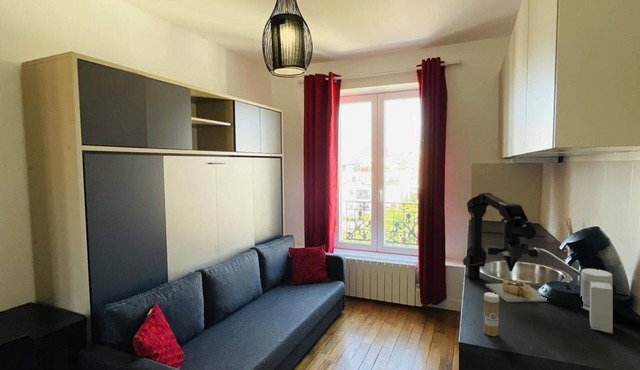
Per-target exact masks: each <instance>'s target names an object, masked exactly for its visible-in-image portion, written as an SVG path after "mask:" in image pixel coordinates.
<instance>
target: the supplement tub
mask: <svg viewBox="0 0 640 370" xmlns="http://www.w3.org/2000/svg"><path fill="white" fill-rule="evenodd" d="M597 269H598V268H597ZM597 269H596V268H583V269H581V273H580V297H581V296H582V301H583V307H582V309H584V310H587V311H588V312H590V282H591V281H592V282H600V283H608V284H611V286H612V287H613V281H614V280H613V274H612V273H611V272H609V271H606V270H602V269H598V270H597Z"/></svg>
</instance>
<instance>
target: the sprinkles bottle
mask: <svg viewBox="0 0 640 370" xmlns="http://www.w3.org/2000/svg"><path fill="white" fill-rule="evenodd" d="M483 300H484V303H483V304H484V305H483V306H484V307H483V330H482V331H483V333H484V334H485V335H487V336H492V337H496V336H499V315H500V314H499V302H500V296H499V295H497V294H495V293H494V292H485V293H483Z"/></svg>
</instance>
